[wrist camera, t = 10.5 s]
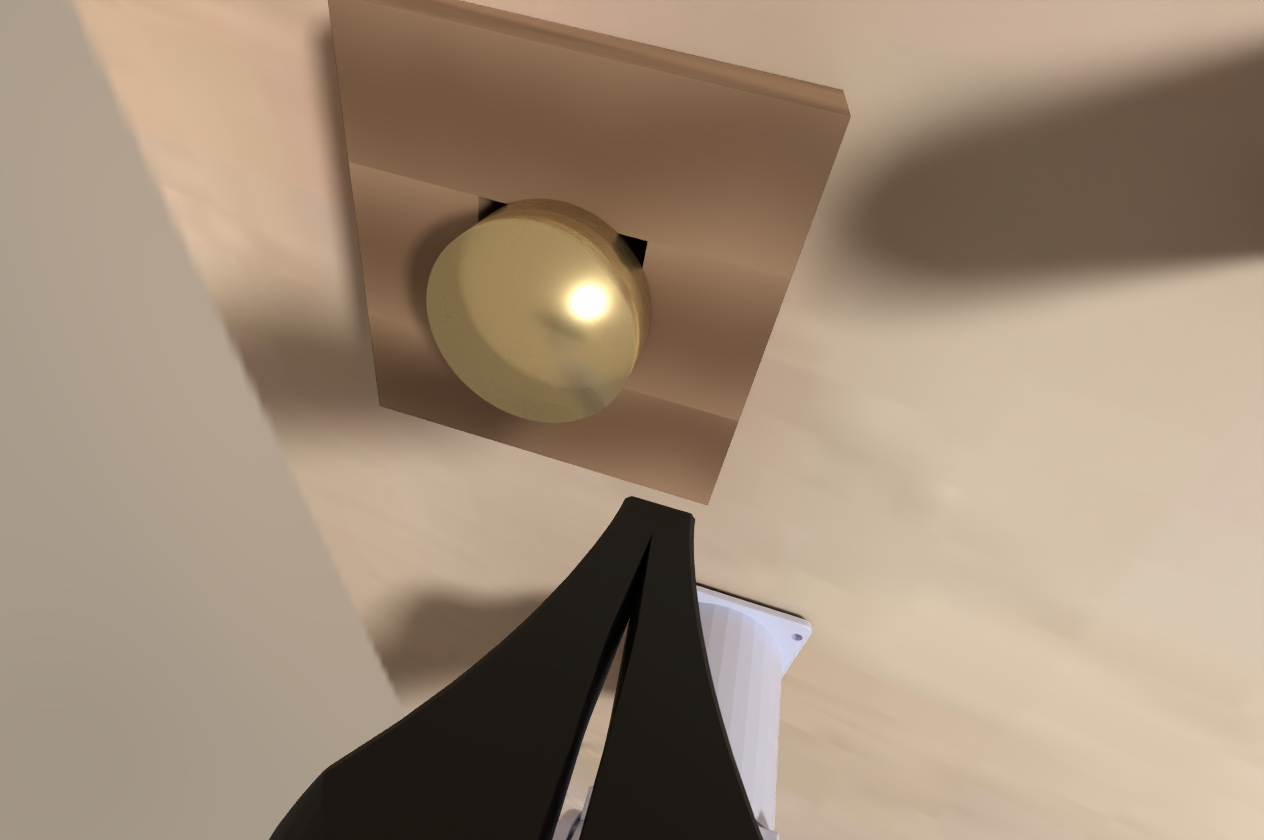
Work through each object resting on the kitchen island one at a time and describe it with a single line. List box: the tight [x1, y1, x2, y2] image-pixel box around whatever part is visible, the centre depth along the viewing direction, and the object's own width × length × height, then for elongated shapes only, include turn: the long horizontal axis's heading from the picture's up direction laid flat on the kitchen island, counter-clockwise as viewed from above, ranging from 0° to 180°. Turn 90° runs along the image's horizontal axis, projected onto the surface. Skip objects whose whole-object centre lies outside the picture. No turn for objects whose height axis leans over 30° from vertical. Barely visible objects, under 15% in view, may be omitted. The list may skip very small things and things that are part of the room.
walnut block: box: [328, 0, 851, 505], centre depth 18 cm, size 12×12×4 cm
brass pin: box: [426, 198, 652, 423], centre depth 17 cm, size 6×6×6 cm
